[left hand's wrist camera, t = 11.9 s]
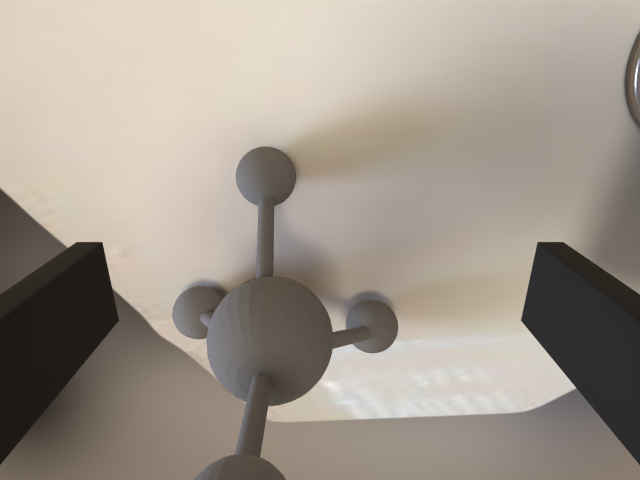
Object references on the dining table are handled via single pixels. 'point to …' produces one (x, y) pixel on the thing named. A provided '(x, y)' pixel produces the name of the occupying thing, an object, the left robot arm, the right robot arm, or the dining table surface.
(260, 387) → the molecular model
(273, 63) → the dining table surface
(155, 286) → the dining table surface
